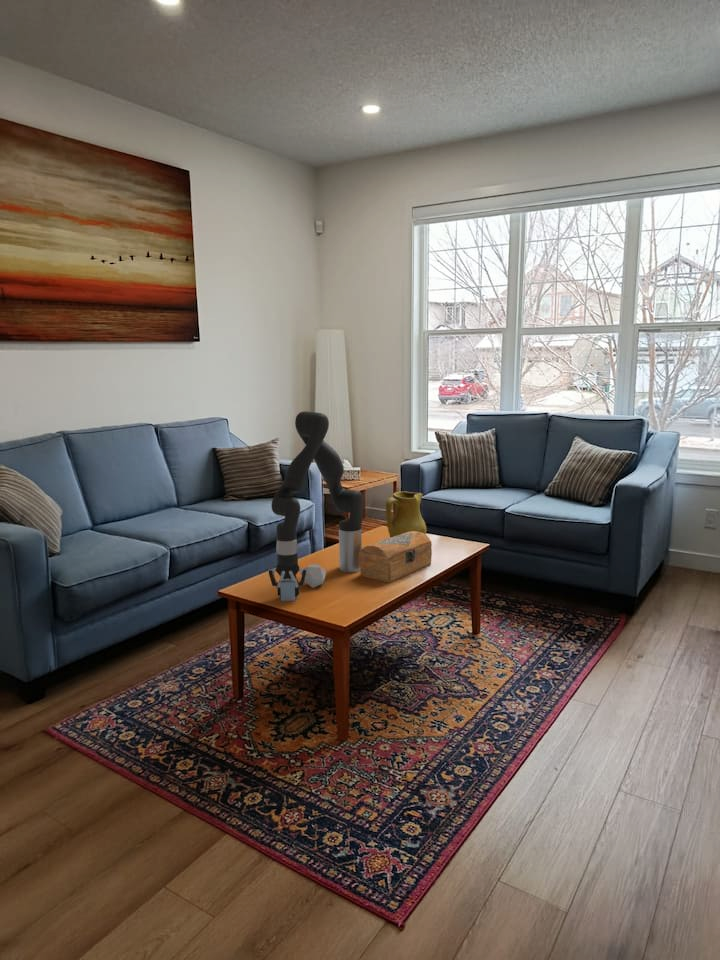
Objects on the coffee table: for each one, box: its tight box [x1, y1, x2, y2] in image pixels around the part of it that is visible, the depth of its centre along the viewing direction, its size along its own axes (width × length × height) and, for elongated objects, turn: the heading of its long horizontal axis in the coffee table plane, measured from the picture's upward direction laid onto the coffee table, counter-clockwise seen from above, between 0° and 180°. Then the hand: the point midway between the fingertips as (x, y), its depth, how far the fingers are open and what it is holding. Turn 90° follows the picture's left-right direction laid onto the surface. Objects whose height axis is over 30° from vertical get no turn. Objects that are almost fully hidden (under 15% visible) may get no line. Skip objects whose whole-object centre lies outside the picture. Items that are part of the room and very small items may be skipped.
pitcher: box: [385, 490, 428, 538], centre depth 308 cm, size 17×19×25 cm
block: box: [280, 579, 297, 602], centre depth 244 cm, size 5×5×7 cm
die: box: [304, 562, 327, 589], centre depth 257 cm, size 8×9×10 cm
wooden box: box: [359, 531, 433, 584], centre depth 274 cm, size 30×16×14 cm, turn 140°
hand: (288, 596), depth 244 cm, fingers closed on block, 5 cm apart
